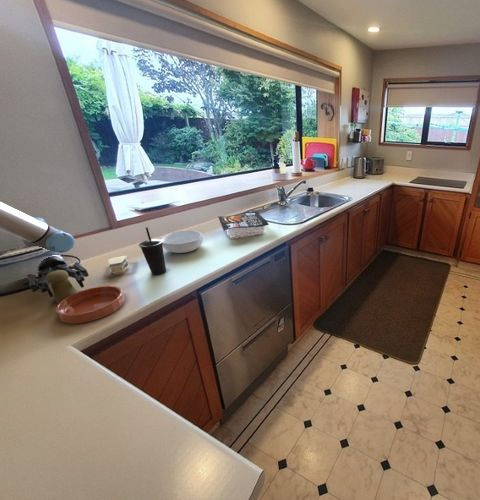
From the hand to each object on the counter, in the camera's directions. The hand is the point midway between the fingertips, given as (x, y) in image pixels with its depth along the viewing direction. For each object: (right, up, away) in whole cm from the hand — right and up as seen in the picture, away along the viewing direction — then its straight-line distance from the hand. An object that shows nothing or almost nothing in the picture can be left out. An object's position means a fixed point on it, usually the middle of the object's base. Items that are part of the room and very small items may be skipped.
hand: (66, 288), depth 91 cm
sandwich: (-1, +3, +23) cm, 23 cm away
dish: (+8, -7, +1) cm, 11 cm away
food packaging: (+32, +23, +68) cm, 78 cm away
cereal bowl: (+13, +12, +43) cm, 47 cm away
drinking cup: (+15, +3, +23) cm, 28 cm away
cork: (-4, -5, +5) cm, 8 cm away
